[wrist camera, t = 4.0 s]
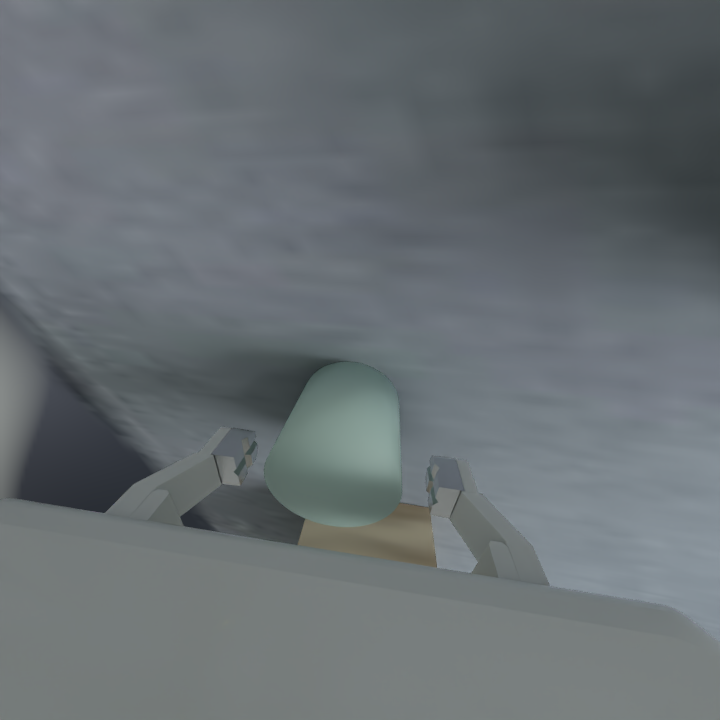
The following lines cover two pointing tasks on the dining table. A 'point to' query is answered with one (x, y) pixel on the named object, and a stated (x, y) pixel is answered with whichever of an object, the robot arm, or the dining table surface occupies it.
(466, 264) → the dining table surface
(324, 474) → the pale green rounded block
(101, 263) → the dining table surface
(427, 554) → the tower base
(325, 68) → the dining table surface
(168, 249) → the dining table surface
